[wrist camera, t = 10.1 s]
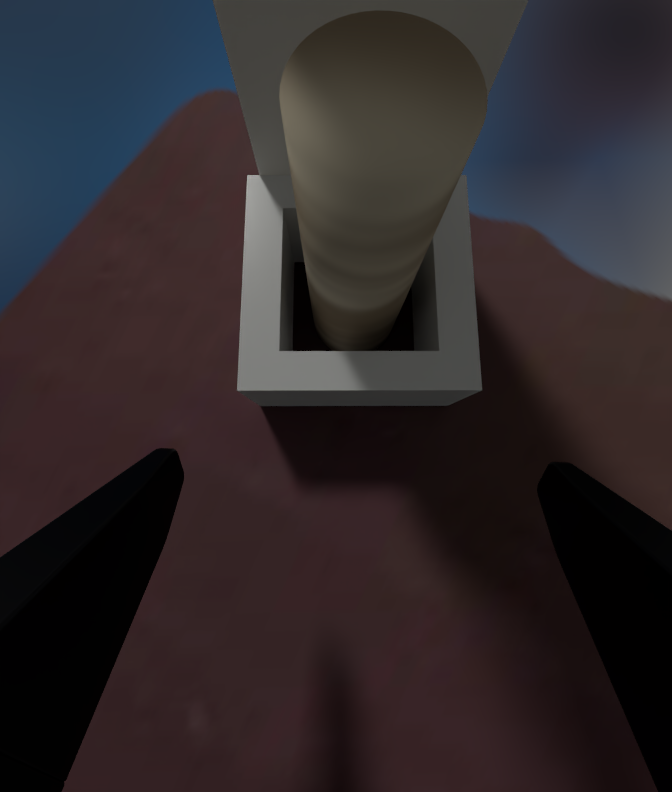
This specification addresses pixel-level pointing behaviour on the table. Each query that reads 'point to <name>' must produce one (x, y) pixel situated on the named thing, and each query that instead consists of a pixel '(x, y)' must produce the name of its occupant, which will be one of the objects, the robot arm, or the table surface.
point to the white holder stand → (280, 236)
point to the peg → (374, 160)
